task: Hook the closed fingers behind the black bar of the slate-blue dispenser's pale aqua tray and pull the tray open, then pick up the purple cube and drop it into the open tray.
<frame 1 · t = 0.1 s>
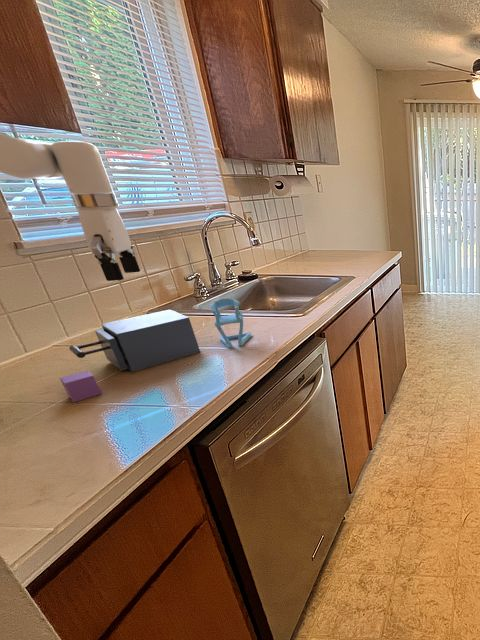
hand: (124, 276, 99), 20 cm above the counter, tool pointing down, fingers open, 9 cm apart
purple cube: (85, 395, 84), on the counter
dispenser: (159, 355, 103), on the counter
chair: (236, 343, 111), on the counter
dispenser tray: (127, 344, 98), point 5 cm above the counter, slide at 0.5 cm
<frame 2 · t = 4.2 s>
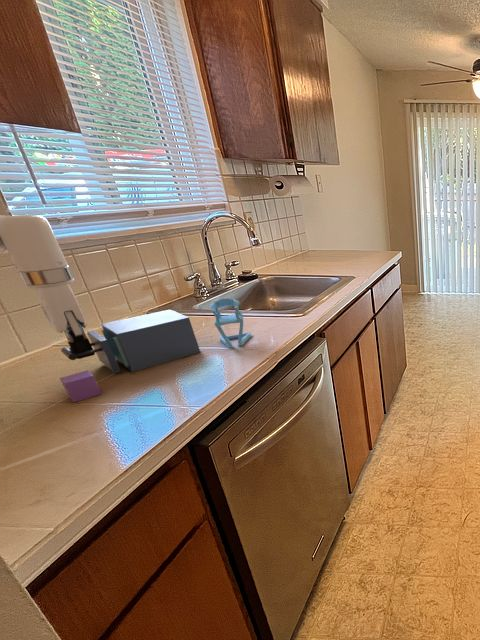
hand: (85, 356, 92), 5 cm above the counter, tool pointing down, fingers closed
dispenser tray: (120, 346, 97), point 5 cm above the counter, slide at 1.9 cm, touching gripper
everything else where it was.
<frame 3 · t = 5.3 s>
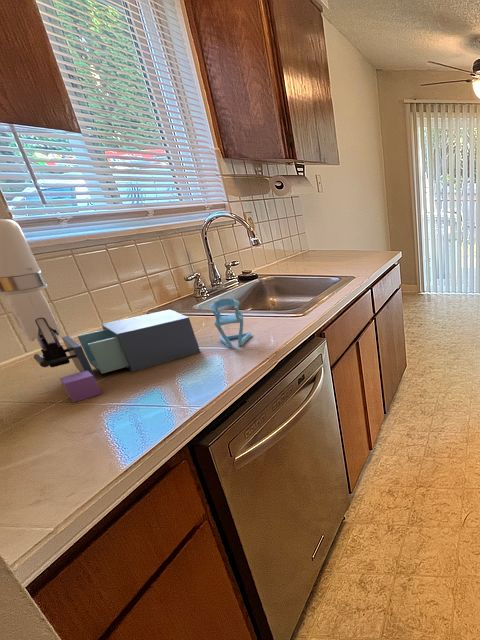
hand: (59, 364, 89), 4 cm above the counter, tool pointing down, fingers closed
dispenser tray: (97, 352, 93), point 5 cm above the counter, slide at 6.3 cm, touching gripper
everything else where it was.
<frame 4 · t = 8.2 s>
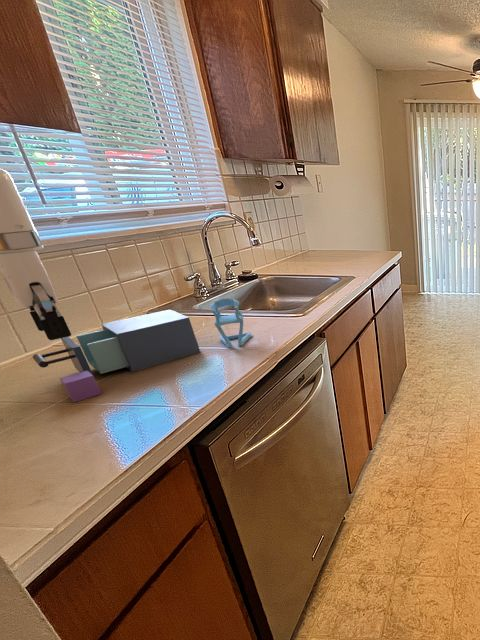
hand: (55, 333, 79), 14 cm above the counter, tool pointing down, fingers open, 8 cm apart
dispenser tray: (96, 352, 93), point 5 cm above the counter, slide at 6.5 cm
everything else where it was.
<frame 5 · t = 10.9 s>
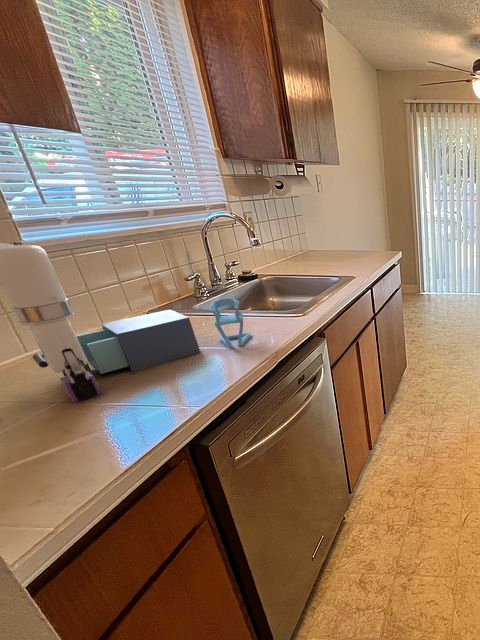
hand: (84, 393, 84), 0 cm above the counter, tool pointing down, fingers closed on purple cube, 4 cm apart
purple cube: (85, 395, 84), on the counter, touching gripper
everything else where it was.
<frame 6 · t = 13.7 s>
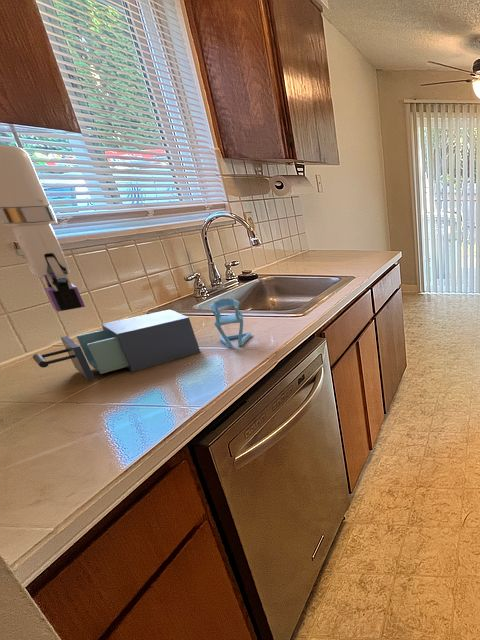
hand: (68, 305, 85), 17 cm above the counter, tool pointing down, fingers closed on purple cube, 4 cm apart
purple cube: (69, 307, 85), point 17 cm above the counter, touching gripper
everything else where it was.
when the fingers open (8 cm above the counter, at t = 16.8 s): purple cube drops 6 cm, resting on dispenser tray.
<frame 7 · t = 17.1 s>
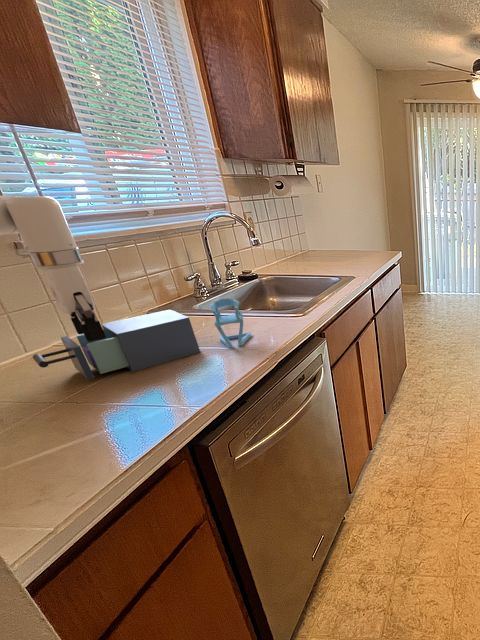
hand: (91, 335, 92), 9 cm above the counter, tool pointing down, fingers open, 7 cm apart
purple cube: (104, 362, 95), point 2 cm above the counter, touching dispenser tray
dispenser tray: (96, 352, 93), point 5 cm above the counter, slide at 6.5 cm, touching purple cube
everything else where it was.
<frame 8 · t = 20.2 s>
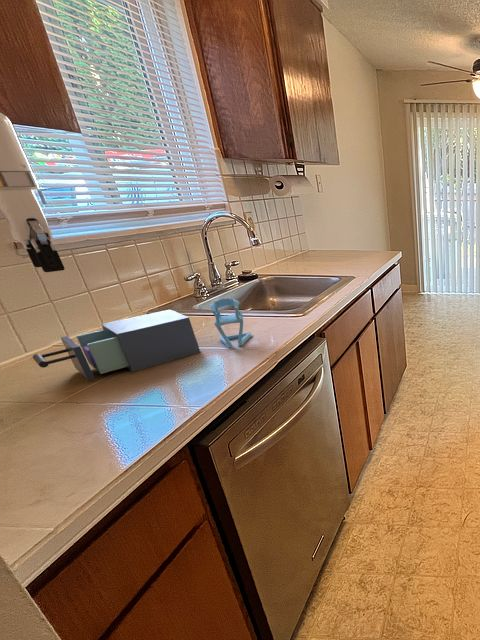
hand: (49, 268, 86), 24 cm above the counter, tool pointing down, fingers open, 9 cm apart
nothing on the counter moved.
at the end: dispenser tray slide at 6.5 cm; purple cube inside the target area in the dispenser tray (2.0 cm from its centre), point 2.0 cm above the dispenser's base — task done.
